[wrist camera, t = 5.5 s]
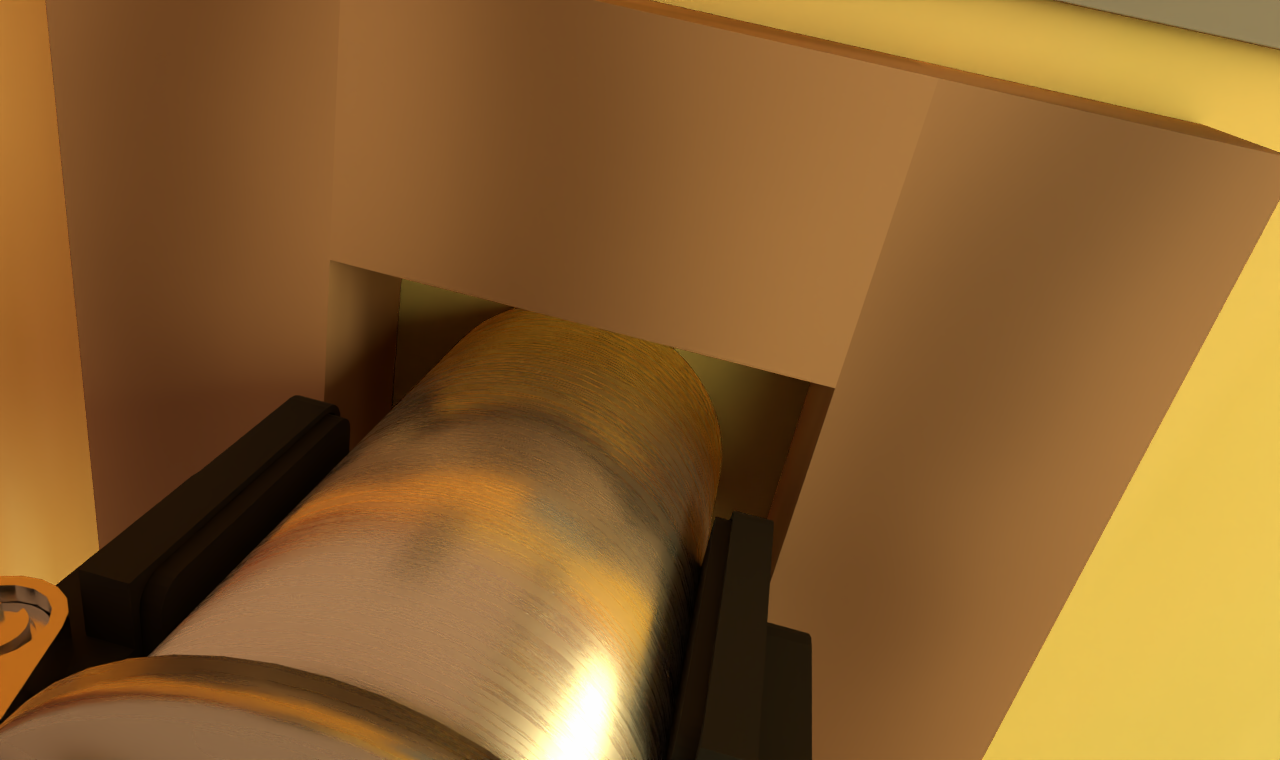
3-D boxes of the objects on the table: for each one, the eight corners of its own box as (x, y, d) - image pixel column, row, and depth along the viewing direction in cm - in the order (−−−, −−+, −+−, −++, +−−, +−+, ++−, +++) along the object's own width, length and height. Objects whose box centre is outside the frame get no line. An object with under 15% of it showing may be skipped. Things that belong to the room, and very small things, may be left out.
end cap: (790, 331, 13) (756, 896, 5) (700, 625, 16) (580, 1315, 7) (423, 235, 13) (-162, 614, 5) (393, 537, 16) (-33, 1100, 8)
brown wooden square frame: (1204, 125, 11) (1301, 160, 9) (863, 842, 17) (871, 966, 15) (172, -108, 12) (33, -128, 10) (199, 649, 18) (118, 739, 16)
